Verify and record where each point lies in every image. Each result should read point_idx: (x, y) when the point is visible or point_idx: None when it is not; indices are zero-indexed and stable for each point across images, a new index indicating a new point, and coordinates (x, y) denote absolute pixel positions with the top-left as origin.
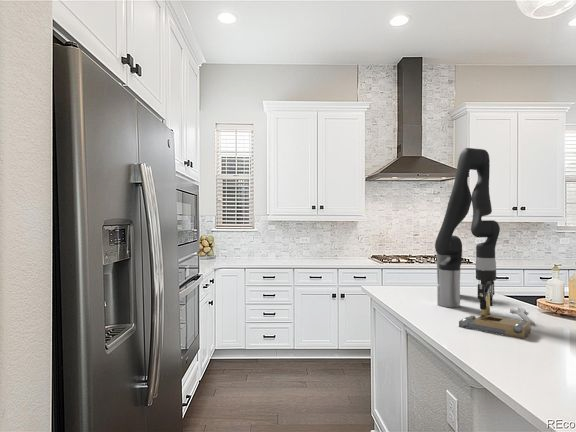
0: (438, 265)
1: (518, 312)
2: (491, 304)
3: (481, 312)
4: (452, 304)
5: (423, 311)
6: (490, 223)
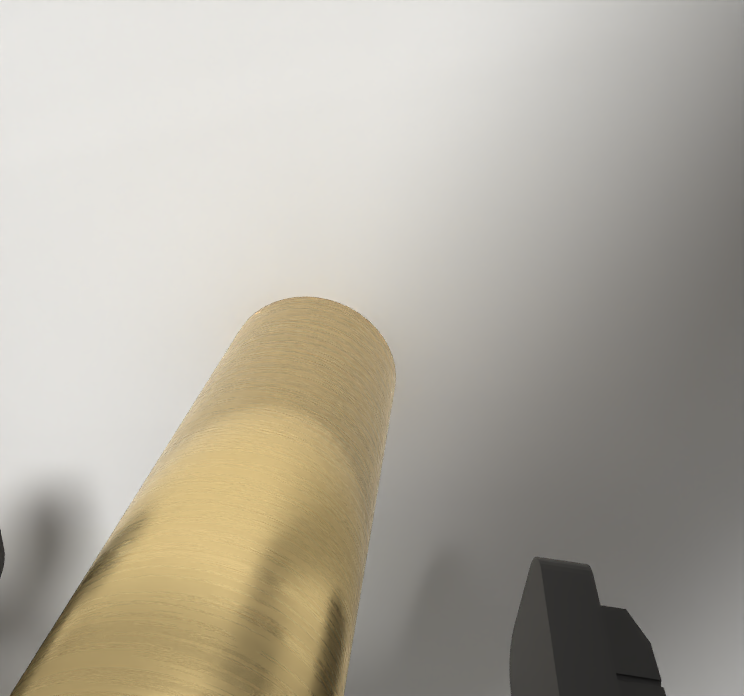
0: None
1: None
2: (511, 686)
3: (205, 388)
4: None
5: None
6: None
